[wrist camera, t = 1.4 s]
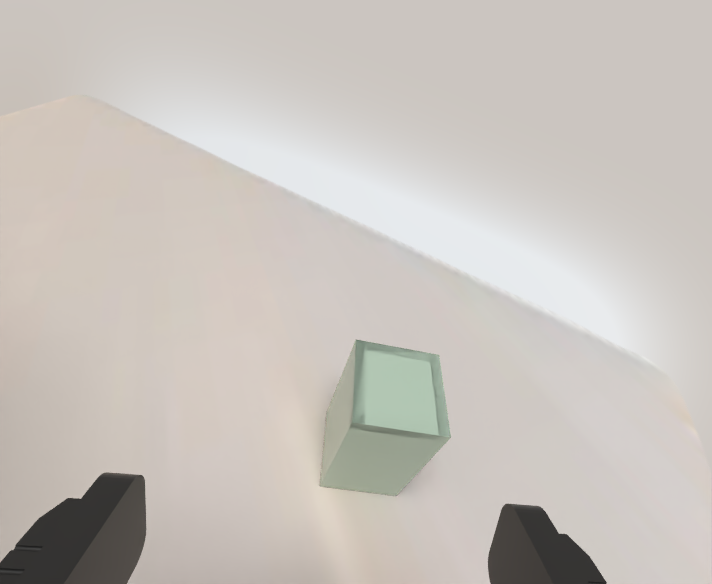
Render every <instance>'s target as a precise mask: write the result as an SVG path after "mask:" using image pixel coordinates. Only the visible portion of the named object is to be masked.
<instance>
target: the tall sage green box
mask: <svg viewBox="0 0 712 584" xmlns="http://www.w3.org/2000/svg"><path fill="white" fill-rule="evenodd" d="M450 438H451V435H450V428H449V421H448V414H447V407H446V400H445V393H444V386H443V379H442V372H441V365H440V358H439V355H436V354H431V353H426V352H420V351H415V350H409V349H404V348H398V347H393V346H388V345H382V344H377V343H371V342H366V341H361V340H356V341H355V343H354V346H353V348H352V351H351V353H350V356H349V358H348V361H347V363H346V366H345V368H344V371H343V373H342V376H341V378H340V381H339V383H338V386H337V388H336V391H335V393H334V396H333V398H332V401H331V403H330V406H329V408H328V411H327V414H326V425H325V435H324V446H323V456H322V467H321V477H320V486H321V487H329V488H337V489H345V490H353V491H361V492H369V493H376V494H384V495H392V496H397V495H398V494H399V493H400V492H401V490H402V489H403V488H404V487H405V486H406V485H407V484H408V483H409V482H410V481H411V480H412V479H413V478H414V476H415V475H416V474H417V473H418V472H419V471H420V470H421V469H422V468H423V467H424V466H425V465H426V464H427V463H428V461H429V460H430V459H431V458H432V457H433V456H434V455H435V454H436V453H437V452H438V451H439V450H440V449H441V447H442V446H443V445H444V444H445V443H446V442H447V441H448V440H449V439H450Z"/></svg>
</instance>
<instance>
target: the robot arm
mask: <svg viewBox="0 0 712 584" xmlns="http://www.w3.org/2000/svg"><path fill="white" fill-rule="evenodd" d="M145 536H146V505H145V480H144V477H143V476H142V475H133V474H119V473H103V474H102V475H100V476H99V477H98V478H97V480H96V481H95V482H94V483H93V485H92V486H91V487H90V488H89V490H88V491H87V492H86V493H85V495H84V496H83V497H82V498H81V499H74V498H67V499H66V500H65V501H63V502H62V503H60V504H59V505H57V506H56V507H55V508H53V509H52V510H50V511H49V512H48V513H46V514H45V515H43V516H42V517H40V518H39V519H38V520H37V521H36V522H35V523H34V525H33V526H32V527H31V528H30V529H29V530H28V531H27V533H26V534H25V535H24V536H23V537H22V538H21V539H20V541H19V542H18V543H17V544H16V547H15V549H14V550H11V551H10V552H9V553H8V554H7V555H6V557H5V558H4V559H3V560H2V561H1V562H0V584H127V582H128V580H129V578H130V576H131V574H132V572H133V571H134V569H135V567H136V565H137V563H138V560H139V558H140V555H141V552H142V549H143V546H144V541H145ZM488 571H489V578H490V582H491V584H606V581H605V579H604V578H603V576H602V575H601V573H600V572H599V570H598V569H597V567H596V566H595V564H594V563H593V561H592V560H591V558H590V557H589V556H588V555H587V554H586V553H585V552H584V551H583V550H582V549H581V548H580V547H579V546H578V545H577V544H576V543H575V542H574V541H573V540H572V539H571V538H570V537H569V536H568V535H567V534H559V533H558V532H557V530H556V528H555V527H554V525H553V523H552V522H551V520H550V519H549V517H548V515H547V514H546V512H545V511H544V510H543V509H542V508H541V507H539V506H530V505H517V504H505V505H504V506H503V508H502V510H501V513H500V517H499V520H498V524H497V527H496V531H495V534H494V538H493V541H492V545H491V548H490V552H489V557H488Z"/></svg>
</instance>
